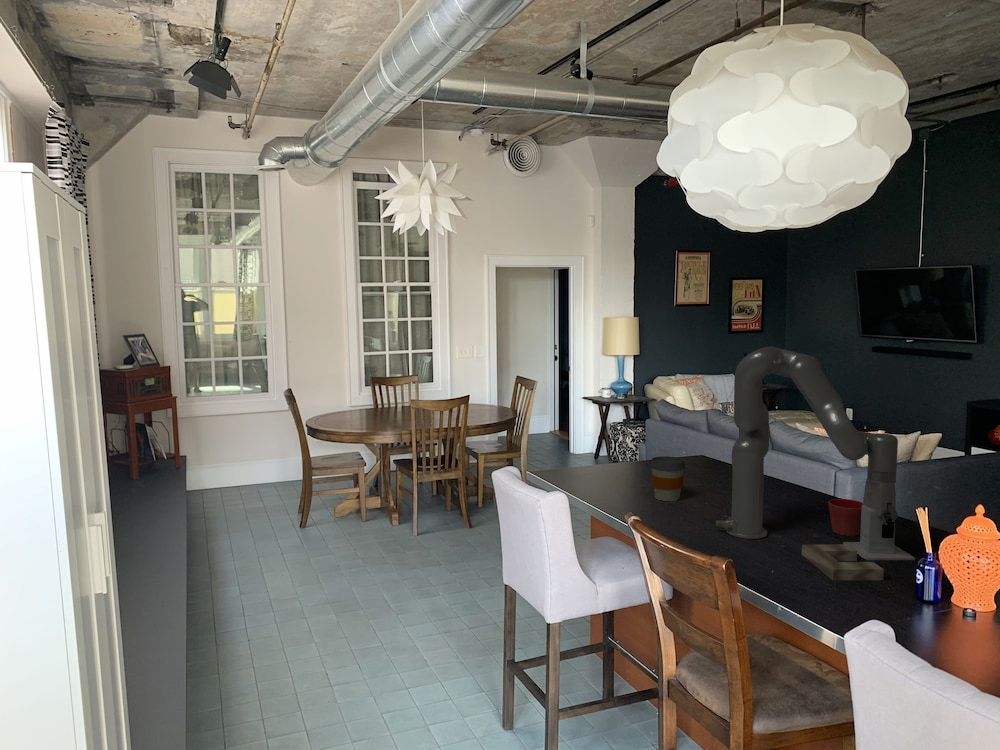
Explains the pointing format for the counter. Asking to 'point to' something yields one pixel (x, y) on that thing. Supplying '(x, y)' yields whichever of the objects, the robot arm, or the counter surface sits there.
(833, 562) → the box dock
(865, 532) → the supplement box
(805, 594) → the counter surface
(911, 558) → the tile
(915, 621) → the counter surface
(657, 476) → the reusable coffee cup
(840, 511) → the flower pot
